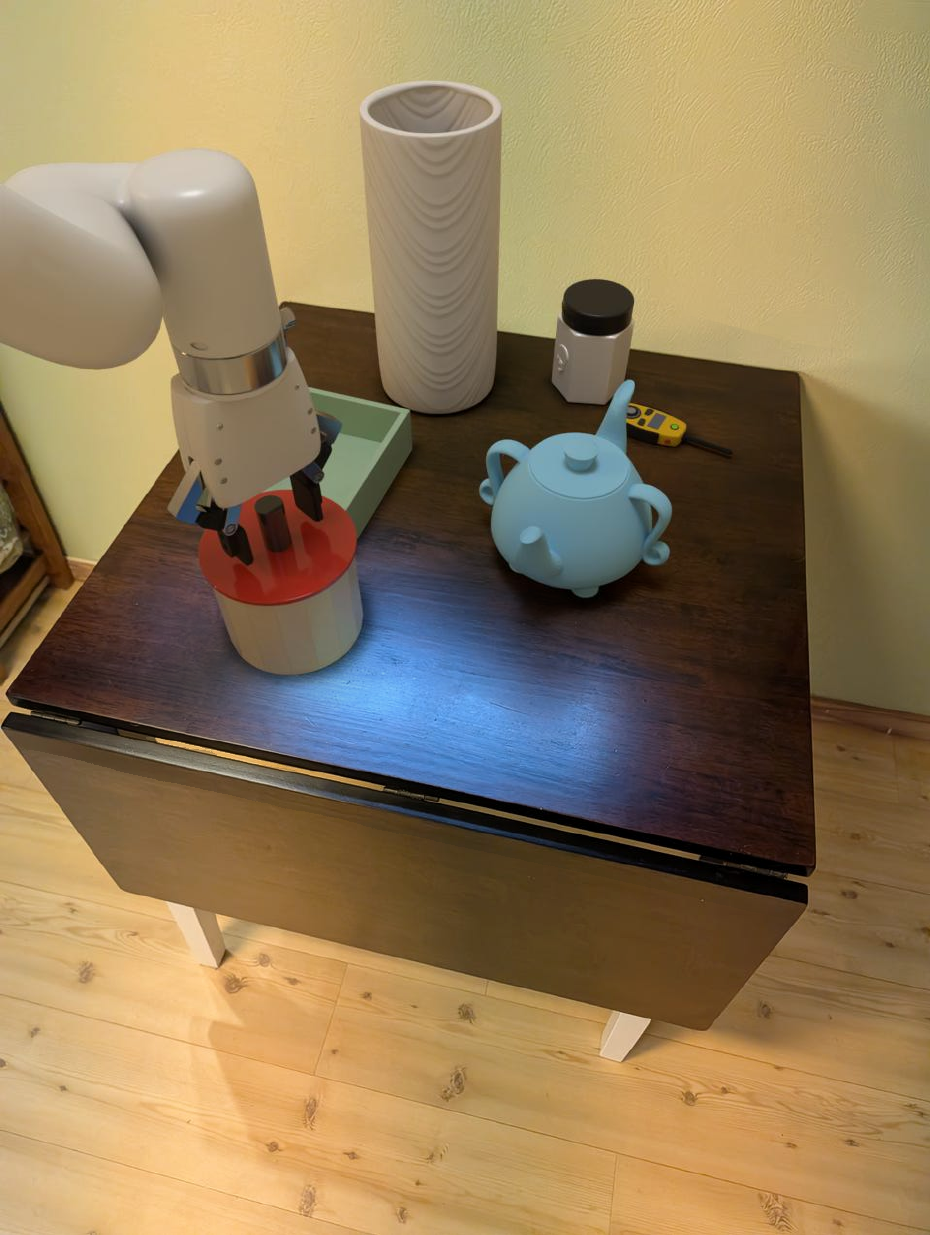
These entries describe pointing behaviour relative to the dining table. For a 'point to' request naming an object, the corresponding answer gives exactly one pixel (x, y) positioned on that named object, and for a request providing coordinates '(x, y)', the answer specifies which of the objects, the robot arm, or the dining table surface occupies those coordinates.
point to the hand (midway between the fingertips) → (275, 532)
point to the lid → (281, 552)
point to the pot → (297, 628)
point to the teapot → (576, 506)
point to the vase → (434, 239)
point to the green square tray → (358, 453)
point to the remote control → (660, 428)
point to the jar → (593, 341)
